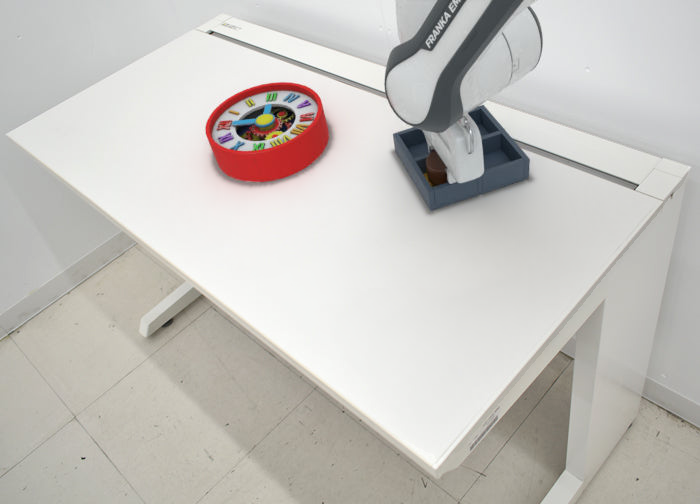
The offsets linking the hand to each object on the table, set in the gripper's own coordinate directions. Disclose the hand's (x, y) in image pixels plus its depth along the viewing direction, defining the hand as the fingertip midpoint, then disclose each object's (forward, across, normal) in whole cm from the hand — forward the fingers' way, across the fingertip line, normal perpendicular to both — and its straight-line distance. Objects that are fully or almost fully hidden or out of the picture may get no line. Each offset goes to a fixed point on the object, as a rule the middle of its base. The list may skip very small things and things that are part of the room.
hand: (444, 166), depth 88 cm
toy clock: (+4, +24, +22) cm, 33 cm away
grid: (+4, +4, -4) cm, 6 cm away
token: (+2, 0, 0) cm, 2 cm away
